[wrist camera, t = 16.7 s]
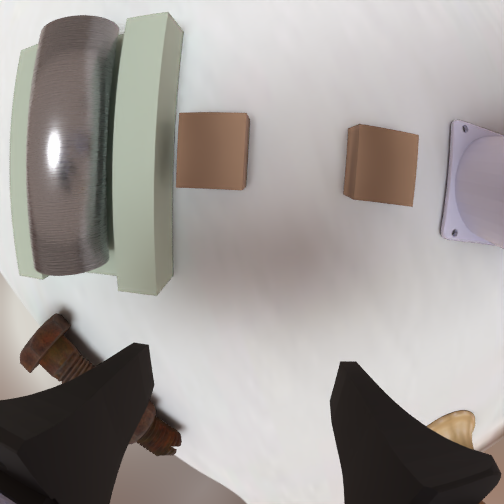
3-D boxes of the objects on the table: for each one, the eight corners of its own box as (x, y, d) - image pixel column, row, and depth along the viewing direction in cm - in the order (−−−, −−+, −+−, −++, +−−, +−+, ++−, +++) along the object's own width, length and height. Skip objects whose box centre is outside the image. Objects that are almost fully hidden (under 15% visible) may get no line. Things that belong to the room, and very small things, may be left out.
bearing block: (401, 137, 17) (418, 135, 14) (396, 200, 18) (412, 206, 15) (191, 118, 17) (179, 112, 15) (188, 183, 18) (176, 187, 16)
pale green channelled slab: (183, 31, 16) (168, 11, 12) (173, 275, 20) (157, 295, 17) (46, 58, 16) (20, 50, 13) (44, 261, 21) (19, 275, 18)
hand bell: (426, 415, 23) (482, 549, 8) (486, 405, 23) (547, 510, 7) (396, 464, 25) (426, 581, 10) (453, 453, 25) (493, 552, 10)
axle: (67, 50, 15) (25, 31, 10) (131, 37, 15) (96, 7, 10) (61, 247, 19) (18, 270, 14) (122, 251, 19) (85, 279, 14)
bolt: (176, 420, 27) (57, 318, 24) (201, 423, 23) (61, 303, 20) (147, 466, 23) (18, 361, 20) (168, 477, 19) (14, 356, 16)
